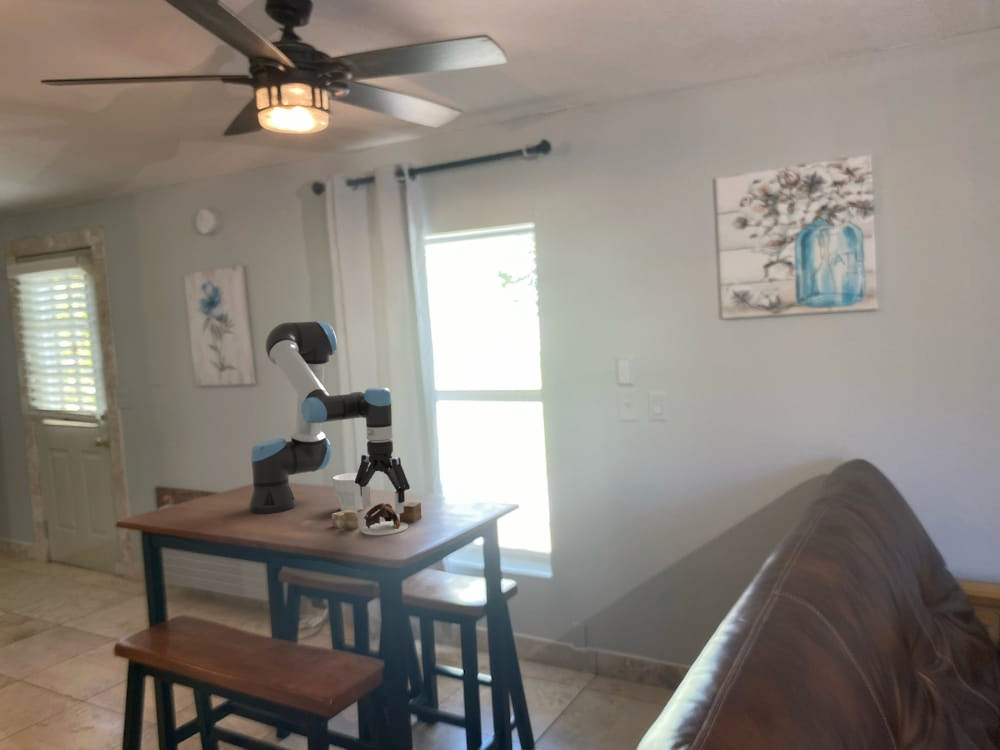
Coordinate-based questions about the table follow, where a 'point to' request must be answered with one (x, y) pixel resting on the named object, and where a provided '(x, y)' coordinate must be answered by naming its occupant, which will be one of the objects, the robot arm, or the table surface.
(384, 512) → the pottery mug
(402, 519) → the walnut block
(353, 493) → the cup
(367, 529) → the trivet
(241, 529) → the table surface
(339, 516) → the maple block
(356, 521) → the oak dowel offcut
